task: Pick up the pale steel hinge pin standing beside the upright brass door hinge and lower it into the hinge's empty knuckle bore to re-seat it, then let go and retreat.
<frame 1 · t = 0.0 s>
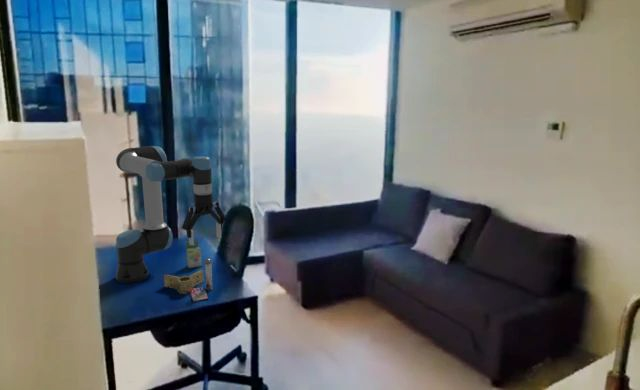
hand: (205, 241, 196), 28 cm above the table, fingers open, 13 cm apart
pin: (209, 289, 214), on the table
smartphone: (198, 295, 209), on the table
ink box: (194, 266, 242), on the table
hinge: (185, 290, 212), on the table
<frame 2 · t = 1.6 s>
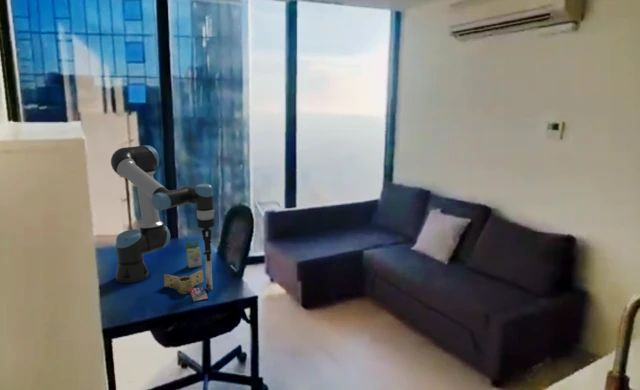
hand: (208, 262, 211), 14 cm above the table, fingers open, 13 cm apart
nothing on the table moved.
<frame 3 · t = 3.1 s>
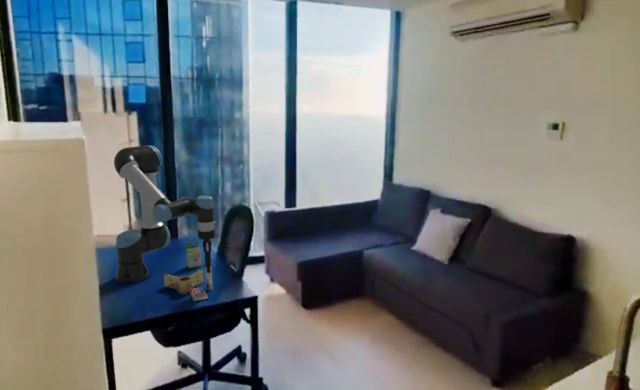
hand: (208, 277, 213), 6 cm above the table, fingers closed on pin, 3 cm apart
pin: (209, 289, 214), on the table, touching gripper
everything else where it was.
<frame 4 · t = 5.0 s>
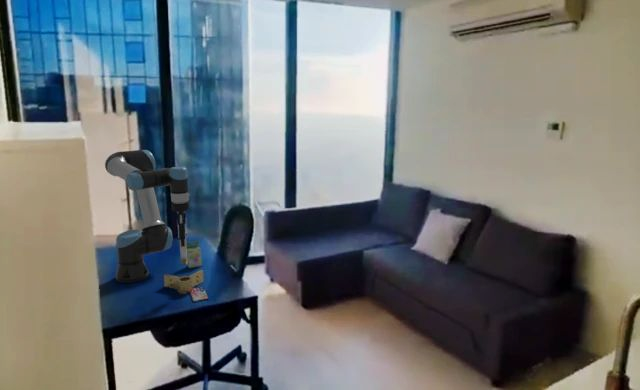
hand: (183, 251, 208), 20 cm above the table, fingers closed on pin, 3 cm apart
pin: (184, 263, 209), point 14 cm above the table, touching gripper
everything else where it was.
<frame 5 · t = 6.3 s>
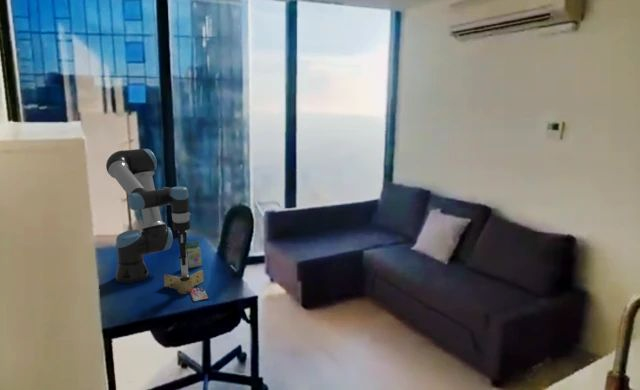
hand: (184, 269, 209), 11 cm above the table, fingers closed on pin, 3 cm apart
pin: (185, 281, 211), point 5 cm above the table, touching gripper
everything else where it was.
when the fingers open (8 cm above the table, at t = 7.1 s): pin drops 2 cm, resting in hinge.
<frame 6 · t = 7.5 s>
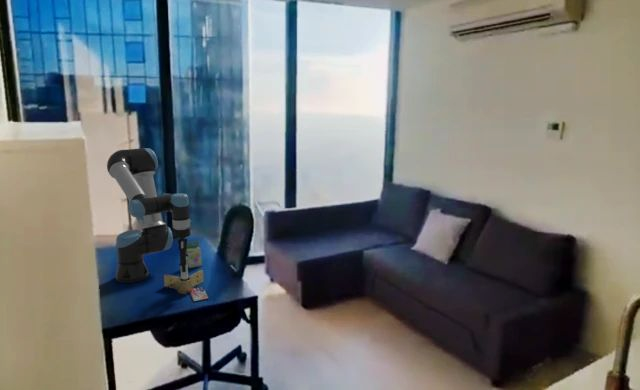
hand: (184, 274, 210), 8 cm above the table, fingers open, 9 cm apart
pin: (185, 290, 212), resting in hinge
everything else where it was.
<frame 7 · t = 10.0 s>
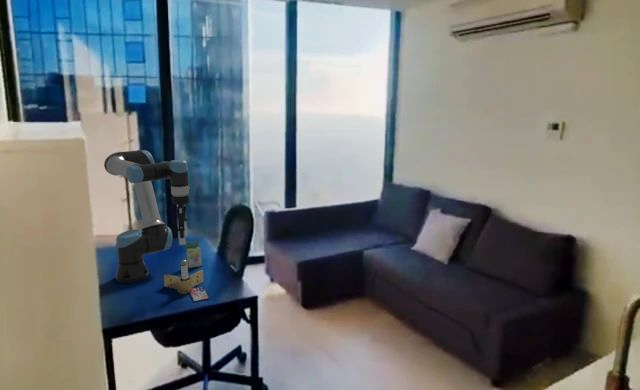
hand: (183, 239, 207), 25 cm above the table, fingers open, 13 cm apart
nothing on the table moved.
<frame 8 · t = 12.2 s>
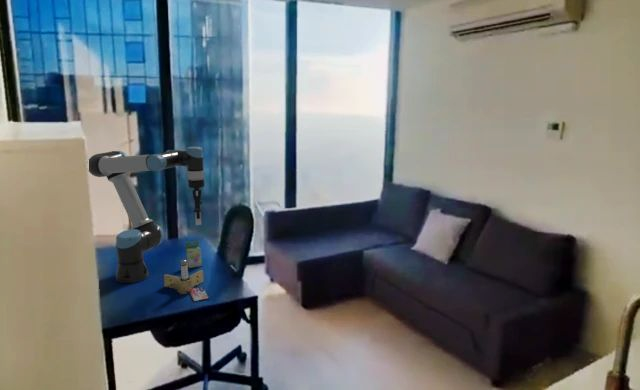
hand: (198, 221, 223), 29 cm above the table, fingers open, 13 cm apart
nothing on the table moved.
at the end: pin 0.0 cm off-centre on the hinge, point 0.0 cm above the hinge's base; pin tilted 0°; the gripper is holding nothing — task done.
